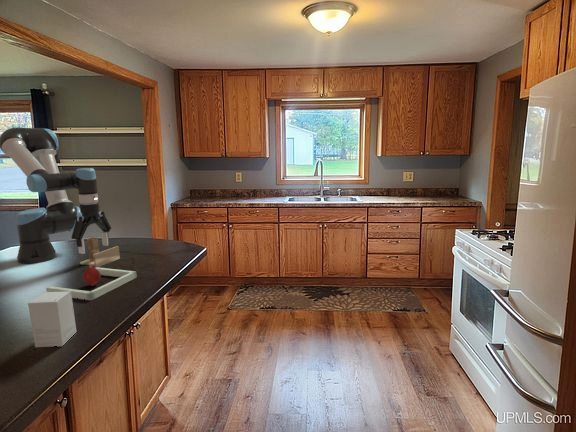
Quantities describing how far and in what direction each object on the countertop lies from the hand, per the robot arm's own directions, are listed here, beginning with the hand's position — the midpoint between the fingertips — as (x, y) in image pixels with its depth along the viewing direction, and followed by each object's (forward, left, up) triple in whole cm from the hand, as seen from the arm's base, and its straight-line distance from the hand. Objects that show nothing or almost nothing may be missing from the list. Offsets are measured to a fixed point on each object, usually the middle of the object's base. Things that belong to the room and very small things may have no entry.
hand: (94, 249), depth 165 cm
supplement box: (+44, -59, -6) cm, 74 cm away
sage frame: (+23, -24, -6) cm, 34 cm away
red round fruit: (+22, -24, -6) cm, 34 cm away
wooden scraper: (+2, 0, -6) cm, 6 cm away
